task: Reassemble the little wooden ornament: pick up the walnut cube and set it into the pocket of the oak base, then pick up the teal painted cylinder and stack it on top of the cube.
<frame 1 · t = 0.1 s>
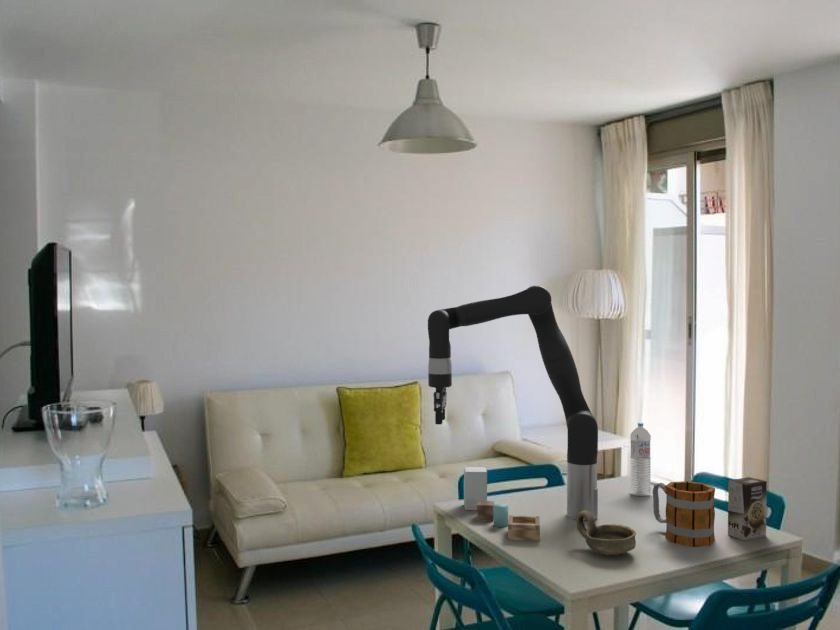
hand: (440, 422, 243), 29 cm above the table, fingers open, 8 cm apart
mug: (681, 536, 218), on the table
water bottle: (640, 494, 263), on the table
oak base: (523, 535, 219), on the table
walnut block: (485, 518, 236), on the table
supplement box: (475, 507, 248), on the table
bowl: (605, 552, 205), on the table
teal cylinder: (500, 525, 229), on the table
coffee box: (747, 536, 218), on the table
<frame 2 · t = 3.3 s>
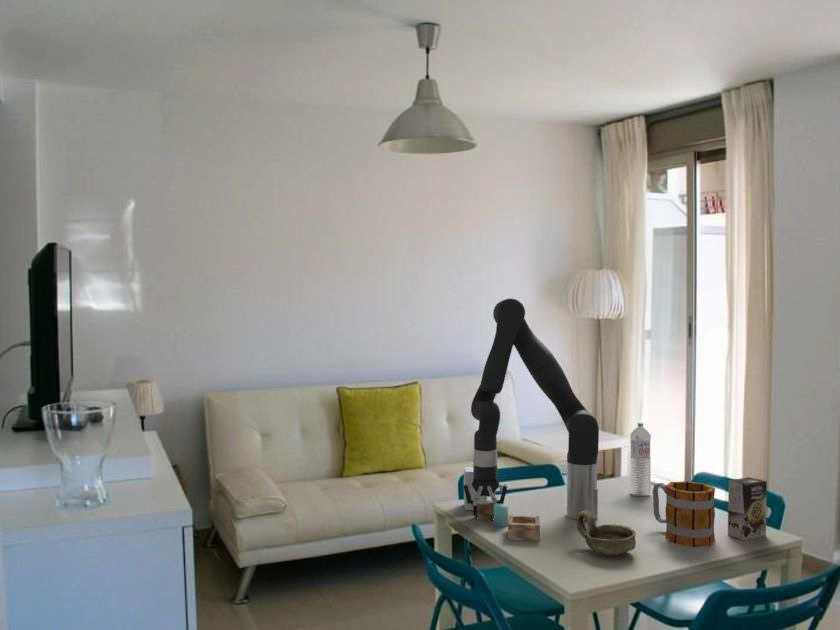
hand: (485, 516, 236), 0 cm above the table, fingers closed on walnut block, 5 cm apart
walnut block: (485, 518, 236), on the table, touching gripper
everything else where it was.
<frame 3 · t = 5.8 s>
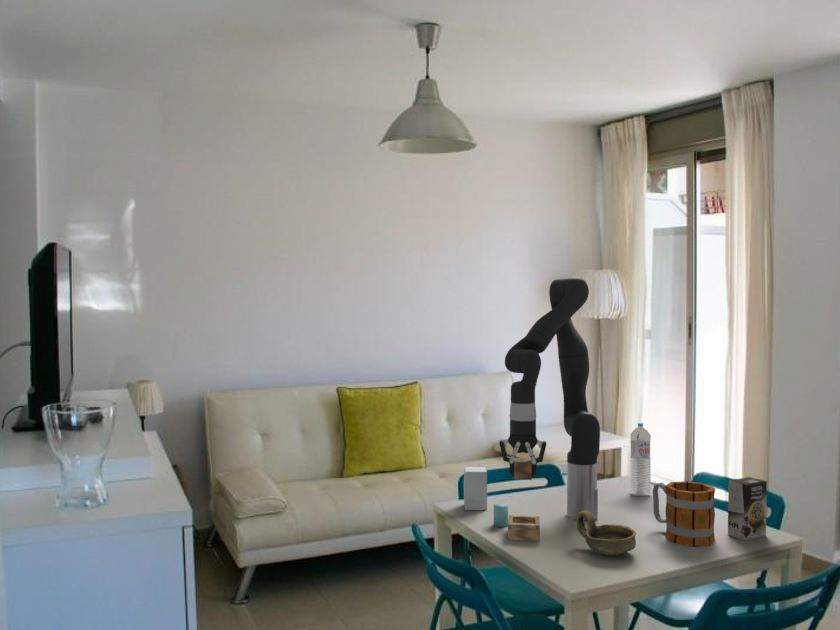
hand: (522, 475, 219), 17 cm above the table, fingers closed on walnut block, 5 cm apart
walnut block: (522, 477, 219), point 17 cm above the table, touching gripper
everything else where it was.
when the fingers open (5 cm above the table, at t = 8.5 s): walnut block drops 2 cm, resting on oak base.
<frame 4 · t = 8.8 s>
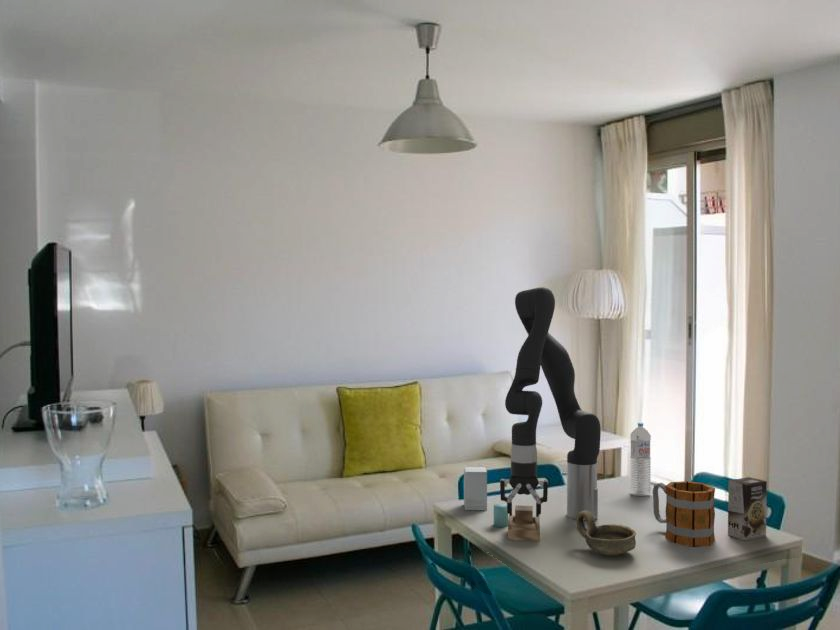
hand: (523, 515, 219), 6 cm above the table, fingers open, 7 cm apart
walnut block: (523, 525, 219), point 3 cm above the table, touching oak base
everything else where it was.
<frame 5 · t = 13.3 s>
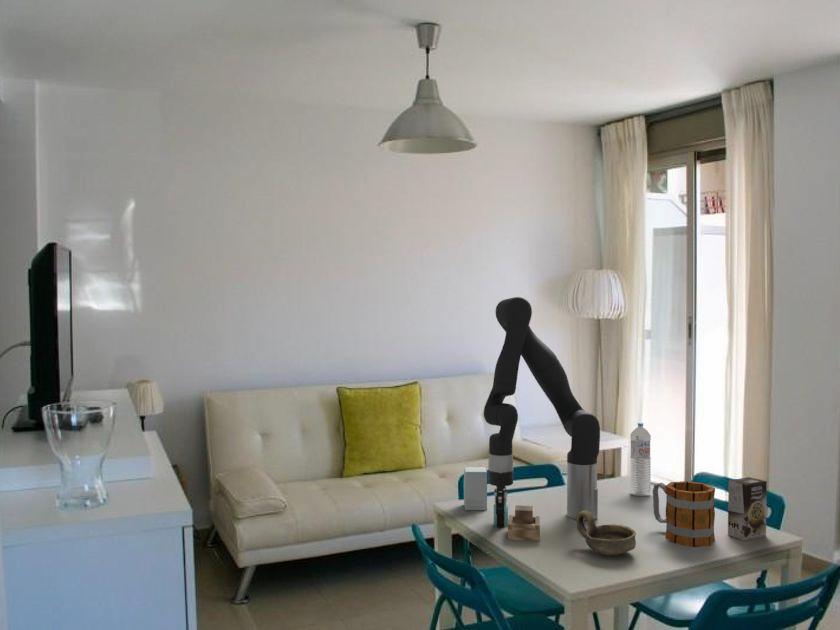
hand: (500, 523, 229), 0 cm above the table, fingers closed on teal cylinder, 4 cm apart
teal cylinder: (500, 524, 229), on the table, touching gripper
everything else where it was.
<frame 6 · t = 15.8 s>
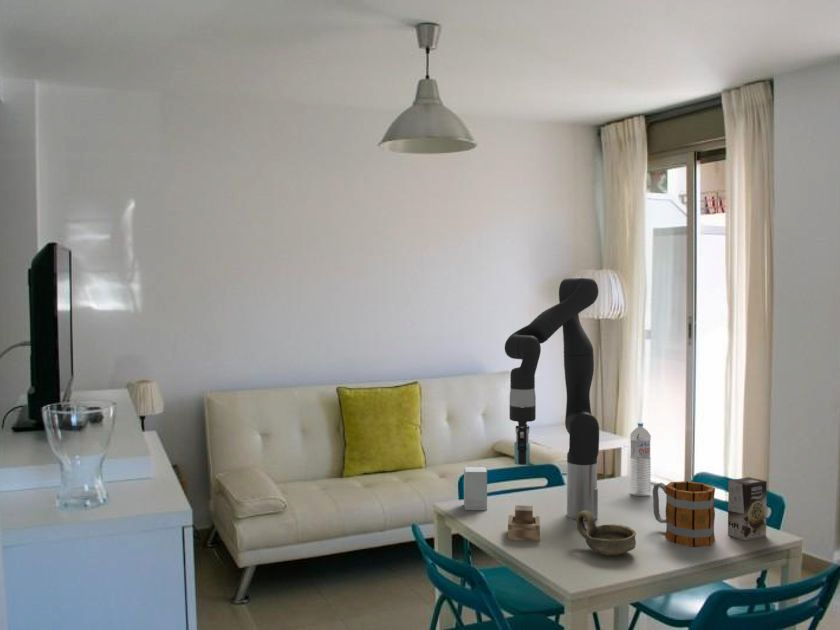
hand: (522, 462, 219), 21 cm above the table, fingers closed on teal cylinder, 4 cm apart
teal cylinder: (522, 463, 219), point 21 cm above the table, touching gripper
everything else where it was.
when the fingers open (9 cm above the table, at t = 18.5 s): teal cylinder stays where it is, resting on walnut block.
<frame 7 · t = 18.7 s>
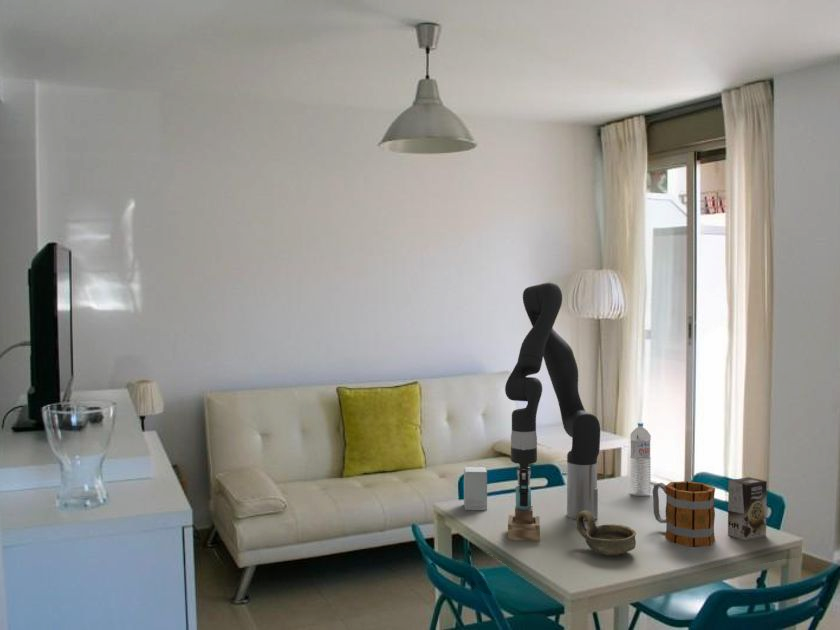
hand: (523, 502, 219), 10 cm above the table, fingers open, 6 cm apart
walnut block: (523, 525, 219), point 3 cm above the table, touching oak base, teal cylinder
teal cylinder: (523, 507, 219), point 8 cm above the table, touching walnut block
everything else where it was.
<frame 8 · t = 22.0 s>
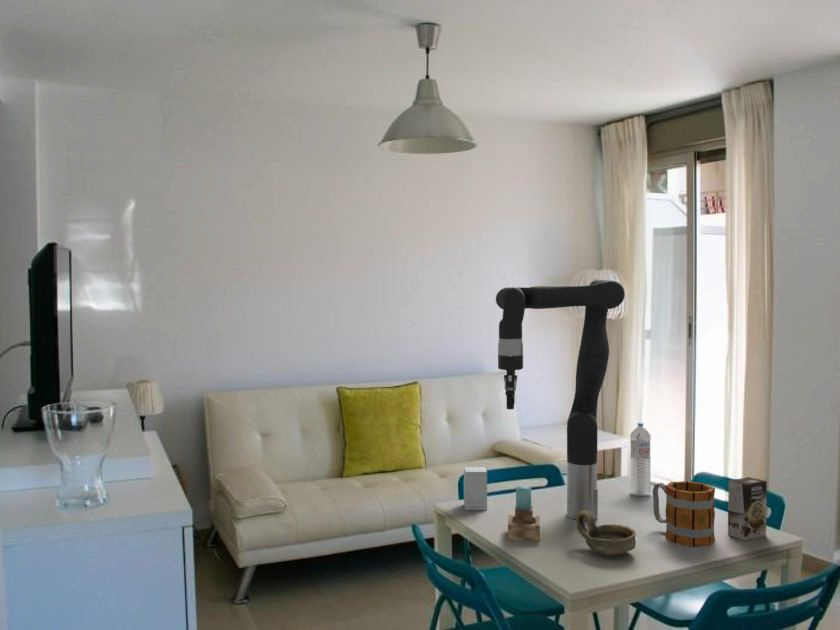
hand: (510, 407, 228), 36 cm above the table, fingers open, 8 cm apart
nothing on the table moved.
at the end: walnut block 0.0 cm off-centre on the oak base, point 3.0 cm above the oak base's base; teal cylinder 0.1 cm off-centre on the oak base, point 8.0 cm above the oak base's base; teal cylinder tilted 0° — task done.
